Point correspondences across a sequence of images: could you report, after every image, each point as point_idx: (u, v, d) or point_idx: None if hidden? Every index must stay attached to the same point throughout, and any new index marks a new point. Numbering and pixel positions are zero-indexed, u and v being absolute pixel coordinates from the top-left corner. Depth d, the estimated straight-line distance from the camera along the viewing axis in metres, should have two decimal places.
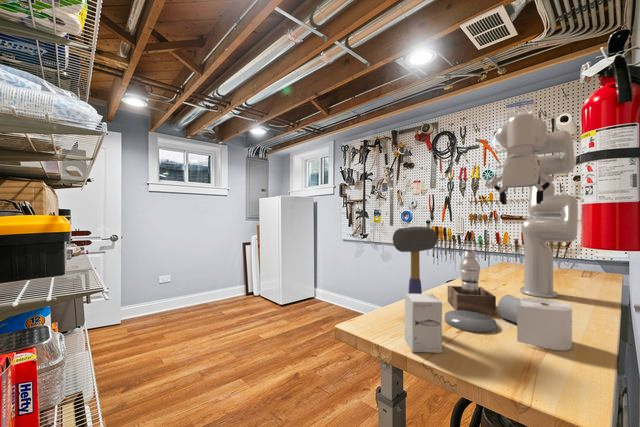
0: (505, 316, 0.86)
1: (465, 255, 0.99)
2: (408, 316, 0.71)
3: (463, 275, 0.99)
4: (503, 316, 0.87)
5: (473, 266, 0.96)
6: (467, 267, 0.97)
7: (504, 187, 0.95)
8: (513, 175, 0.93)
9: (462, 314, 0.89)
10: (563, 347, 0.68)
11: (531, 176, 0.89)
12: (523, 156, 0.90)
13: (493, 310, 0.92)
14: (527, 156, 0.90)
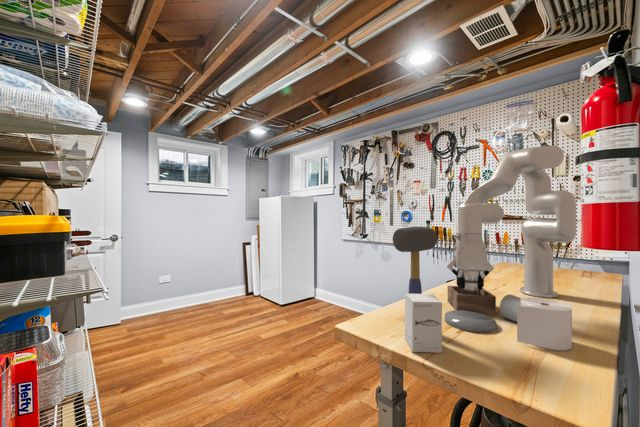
0: (507, 316, 0.86)
1: None
2: (408, 316, 0.71)
3: (463, 275, 0.99)
4: (505, 316, 0.87)
5: (473, 266, 0.96)
6: None
7: None
8: None
9: (462, 314, 0.89)
10: (563, 347, 0.68)
11: None
12: None
13: (493, 310, 0.92)
14: None
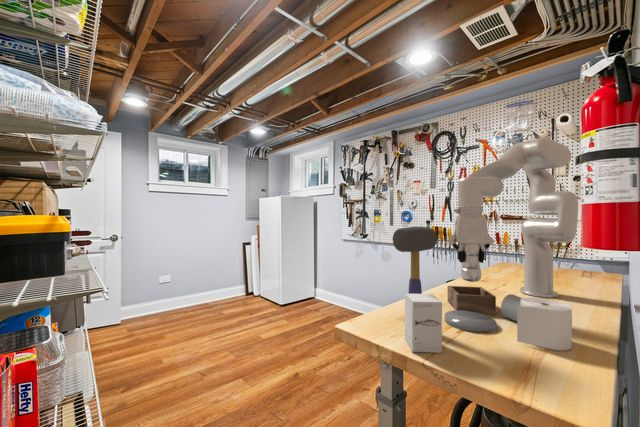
0: (509, 315, 0.87)
1: None
2: (408, 316, 0.71)
3: (464, 249, 0.99)
4: (506, 315, 0.88)
5: (474, 239, 0.96)
6: None
7: None
8: None
9: (462, 314, 0.89)
10: (563, 347, 0.68)
11: None
12: None
13: (493, 310, 0.92)
14: None
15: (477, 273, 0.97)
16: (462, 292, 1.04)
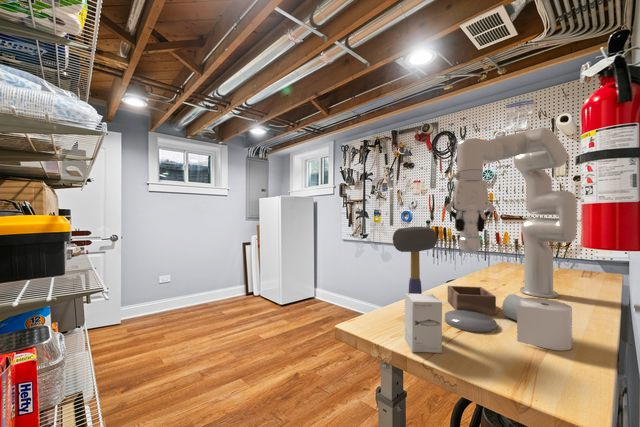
0: (510, 315, 0.87)
1: None
2: (408, 316, 0.71)
3: (462, 216, 0.92)
4: (508, 315, 0.88)
5: (473, 205, 0.89)
6: None
7: None
8: None
9: (462, 314, 0.89)
10: (563, 347, 0.68)
11: None
12: None
13: (493, 310, 0.92)
14: None
15: (476, 242, 0.89)
16: (462, 292, 1.04)
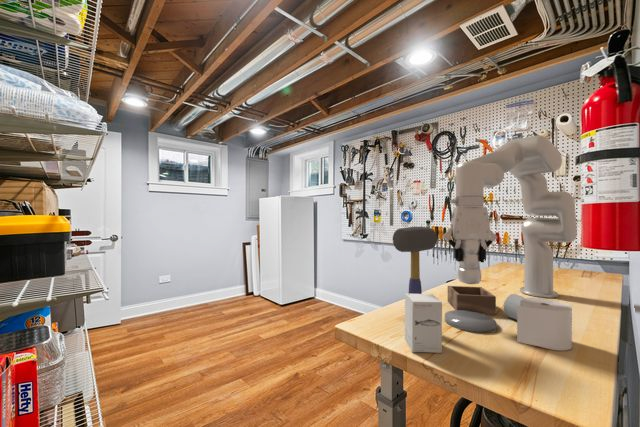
0: (511, 315, 0.87)
1: None
2: (408, 316, 0.71)
3: (461, 246, 0.85)
4: (509, 315, 0.88)
5: (474, 234, 0.82)
6: None
7: None
8: None
9: (462, 314, 0.89)
10: (563, 347, 0.68)
11: None
12: None
13: (493, 310, 0.92)
14: None
15: (477, 274, 0.82)
16: (462, 292, 1.04)
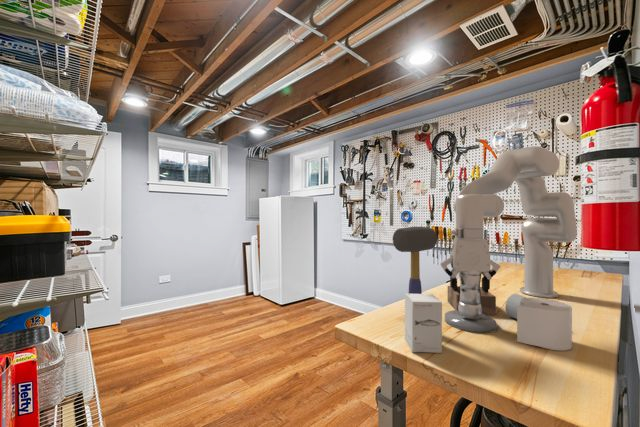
0: (513, 315, 0.87)
1: None
2: (408, 316, 0.71)
3: (462, 280, 0.85)
4: (511, 315, 0.88)
5: (474, 270, 0.83)
6: None
7: None
8: None
9: None
10: (563, 347, 0.68)
11: None
12: None
13: (493, 310, 0.92)
14: None
15: (477, 310, 0.83)
16: None
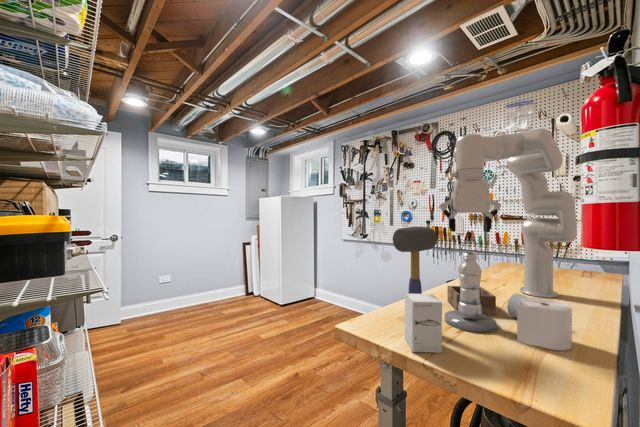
0: (515, 315, 0.87)
1: (464, 257, 0.85)
2: (408, 316, 0.71)
3: (462, 280, 0.85)
4: (513, 315, 0.88)
5: (474, 270, 0.83)
6: (467, 271, 0.83)
7: None
8: None
9: None
10: (563, 347, 0.68)
11: None
12: None
13: (493, 310, 0.92)
14: None
15: (477, 309, 0.83)
16: None
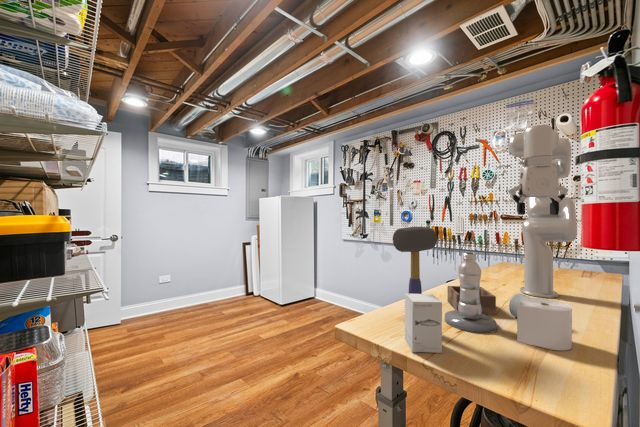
0: None
1: (464, 257, 0.85)
2: (408, 316, 0.71)
3: (462, 280, 0.85)
4: (515, 314, 0.89)
5: (474, 270, 0.83)
6: (467, 271, 0.83)
7: None
8: None
9: None
10: (563, 347, 0.68)
11: None
12: None
13: (493, 310, 0.92)
14: None
15: (477, 309, 0.83)
16: None
